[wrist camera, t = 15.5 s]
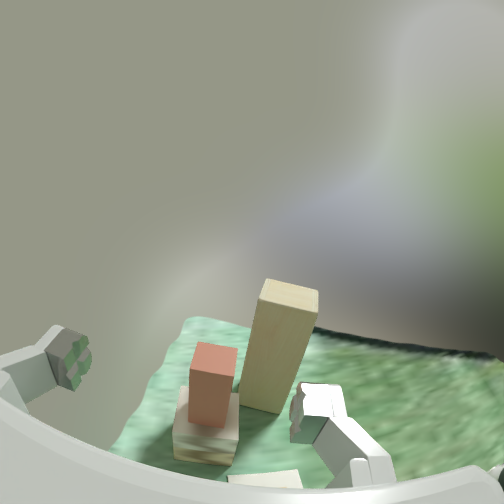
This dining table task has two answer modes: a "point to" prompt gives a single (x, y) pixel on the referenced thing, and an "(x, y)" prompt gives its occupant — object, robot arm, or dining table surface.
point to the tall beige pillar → (277, 344)
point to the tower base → (205, 435)
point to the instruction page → (269, 479)
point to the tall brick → (211, 384)
